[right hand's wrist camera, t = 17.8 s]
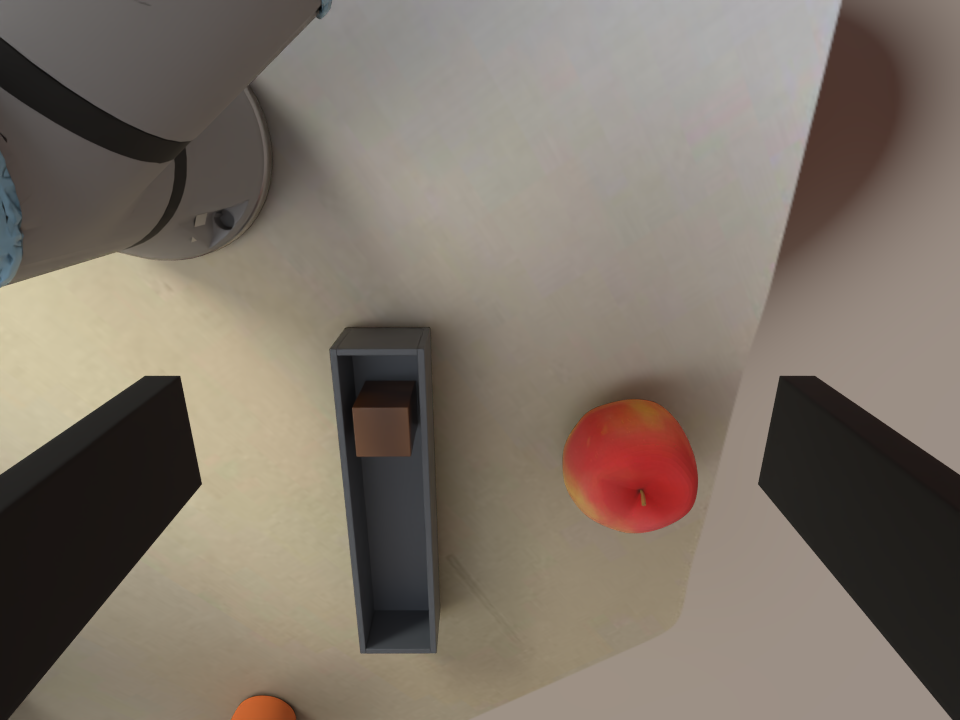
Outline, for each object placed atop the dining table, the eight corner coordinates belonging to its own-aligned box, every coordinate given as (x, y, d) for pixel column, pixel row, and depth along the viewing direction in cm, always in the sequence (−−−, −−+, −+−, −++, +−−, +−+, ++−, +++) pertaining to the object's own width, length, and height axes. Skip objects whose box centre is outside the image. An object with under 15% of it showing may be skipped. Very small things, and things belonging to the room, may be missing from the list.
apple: (568, 368, 45) (592, 427, 36) (685, 385, 45) (738, 447, 36) (545, 472, 48) (560, 551, 39) (653, 487, 49) (695, 568, 39)
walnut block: (369, 425, 46) (356, 457, 42) (365, 380, 45) (351, 407, 40) (417, 425, 46) (410, 456, 42) (415, 380, 45) (408, 407, 40)
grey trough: (370, 609, 54) (360, 653, 49) (345, 327, 44) (329, 349, 39) (440, 609, 54) (436, 653, 49) (430, 327, 44) (424, 348, 39)
